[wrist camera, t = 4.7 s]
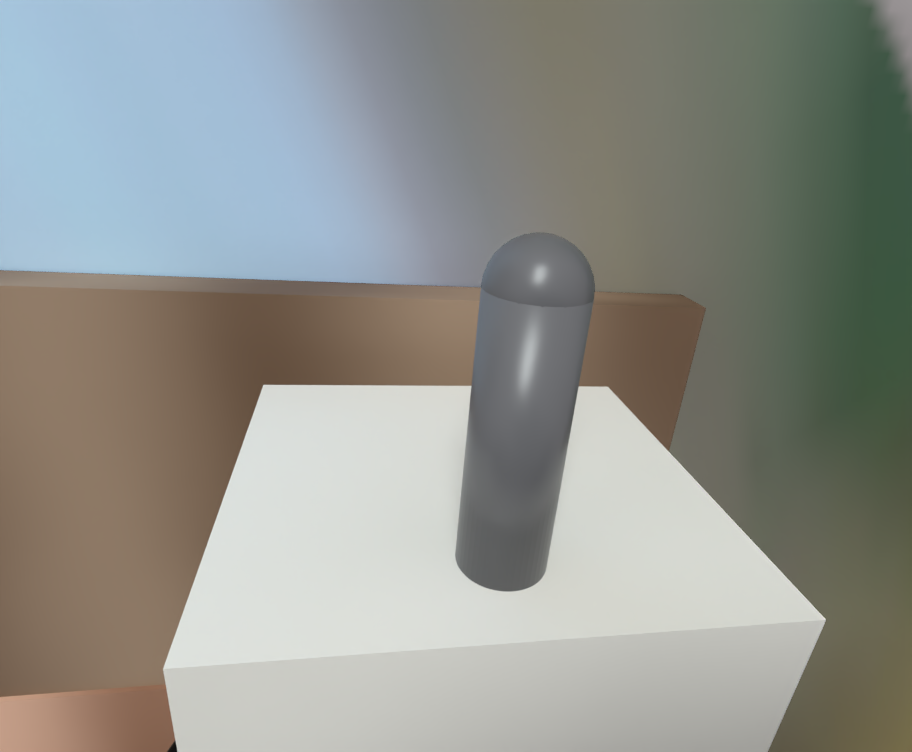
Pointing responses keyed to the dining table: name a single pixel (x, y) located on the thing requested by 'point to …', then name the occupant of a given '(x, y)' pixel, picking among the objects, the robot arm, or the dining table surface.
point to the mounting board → (200, 453)
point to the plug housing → (481, 565)
